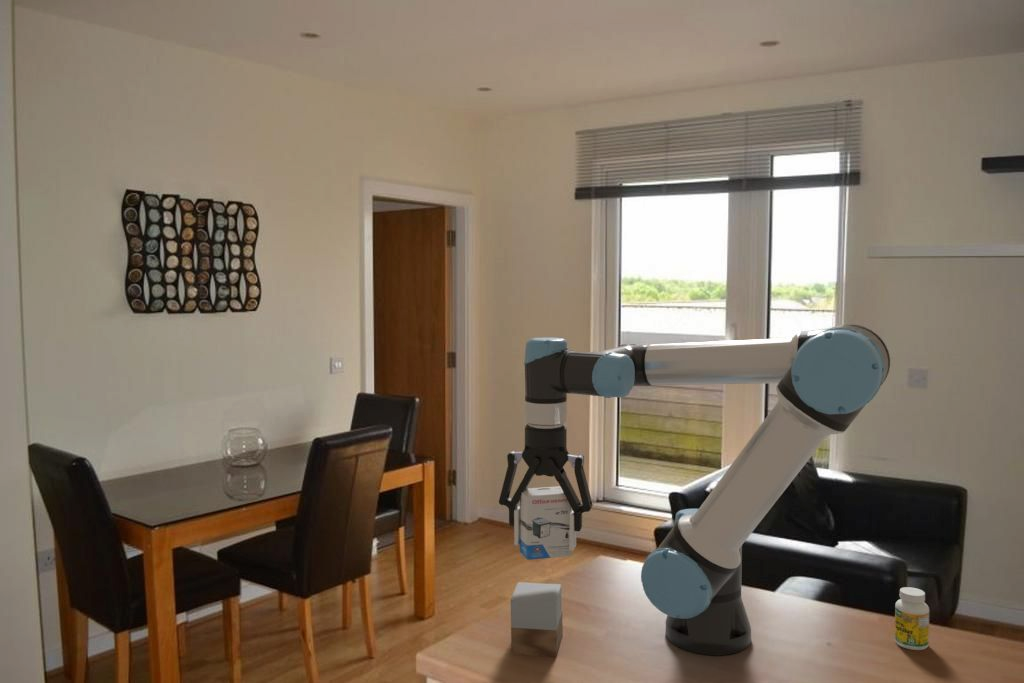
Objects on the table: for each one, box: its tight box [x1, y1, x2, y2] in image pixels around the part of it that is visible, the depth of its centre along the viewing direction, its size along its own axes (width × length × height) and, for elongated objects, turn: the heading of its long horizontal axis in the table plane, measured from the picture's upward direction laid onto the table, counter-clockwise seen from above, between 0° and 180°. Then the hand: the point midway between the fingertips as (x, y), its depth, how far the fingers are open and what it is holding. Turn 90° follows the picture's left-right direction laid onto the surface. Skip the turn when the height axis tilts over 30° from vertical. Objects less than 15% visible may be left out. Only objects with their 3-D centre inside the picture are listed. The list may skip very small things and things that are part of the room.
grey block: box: [510, 581, 563, 630], centre depth 143 cm, size 8×8×5 cm
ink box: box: [519, 485, 572, 561], centre depth 145 cm, size 9×5×12 cm, turn 105°
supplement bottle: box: [894, 586, 930, 651], centre depth 141 cm, size 5×5×10 cm
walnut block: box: [510, 610, 564, 658], centre depth 143 cm, size 8×8×5 cm
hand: (545, 545), depth 145 cm, fingers closed on ink box, 9 cm apart
